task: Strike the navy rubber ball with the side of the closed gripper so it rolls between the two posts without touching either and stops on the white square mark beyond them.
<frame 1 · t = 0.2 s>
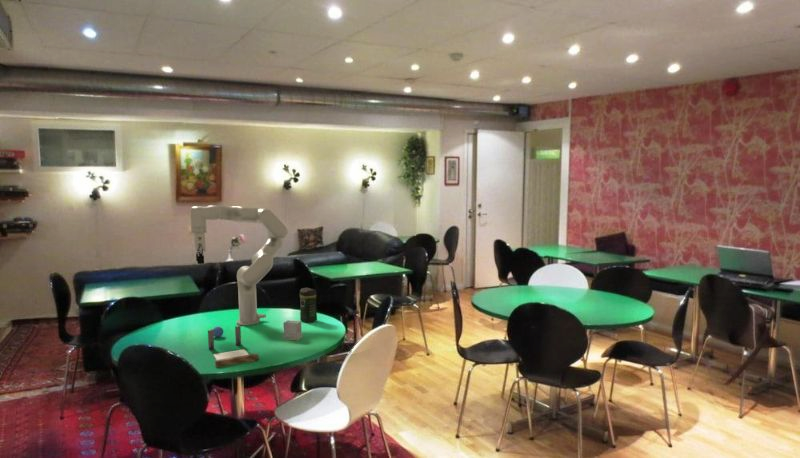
hand: (200, 262, 288), 36 cm above the table, tool pointing down, fingers open, 9 cm apart
stopper wall: (237, 362, 238), on the table
post 1: (211, 349, 257), on the table
coffee jar: (308, 321, 305), on the table
ball: (217, 331, 276), on the table
medicine box: (293, 339, 272), on the table
post 2: (238, 344, 263), on the table
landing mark: (232, 356, 246), on the table
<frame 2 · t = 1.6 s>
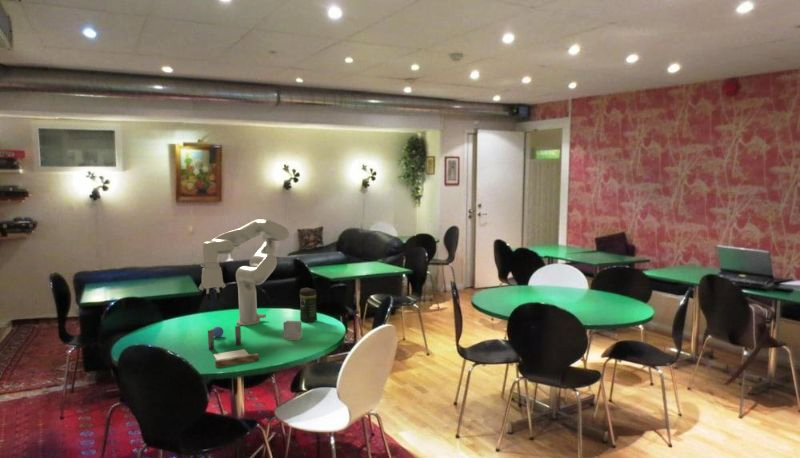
hand: (213, 300, 283), 17 cm above the table, tool pointing down, fingers open, 3 cm apart
nothing on the table moved.
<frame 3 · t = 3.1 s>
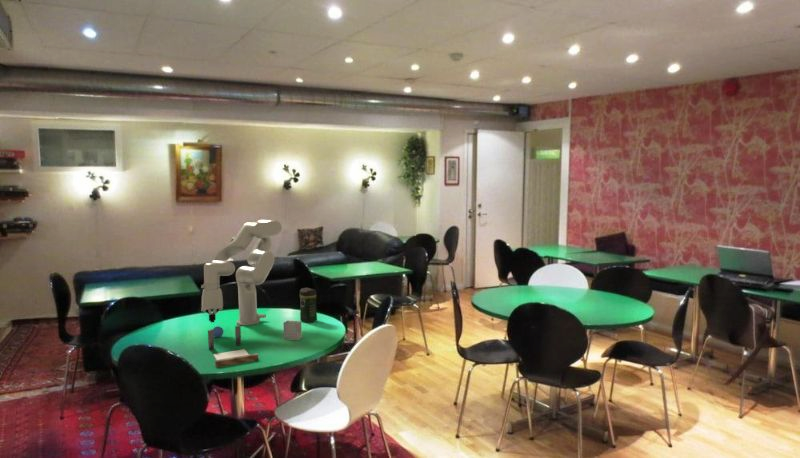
hand: (212, 321, 283), 6 cm above the table, tool pointing down, fingers closed
nothing on the table moved.
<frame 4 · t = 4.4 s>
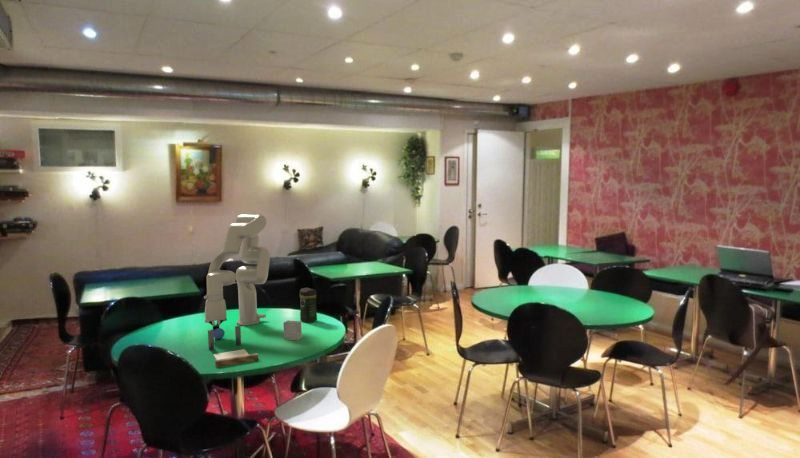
hand: (216, 333, 276), 2 cm above the table, tool pointing down, fingers closed
ball: (218, 333, 273), on the table
everything else where it was.
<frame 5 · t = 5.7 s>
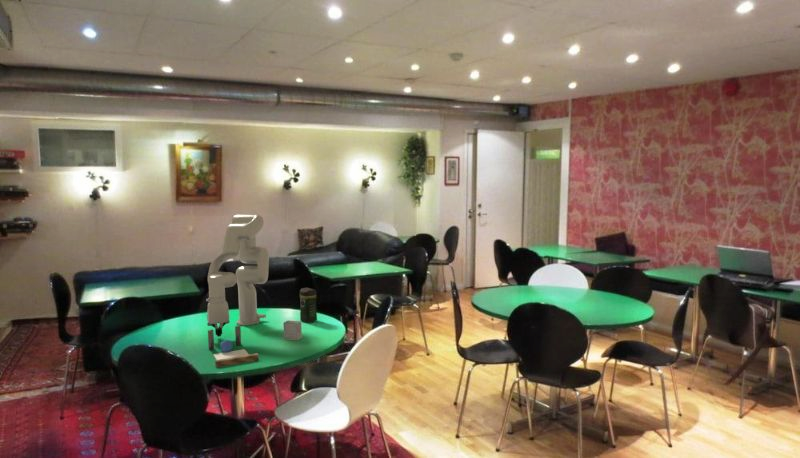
hand: (218, 335, 273), 2 cm above the table, tool pointing down, fingers closed
ball: (226, 346, 253), on the table
everything else where it was.
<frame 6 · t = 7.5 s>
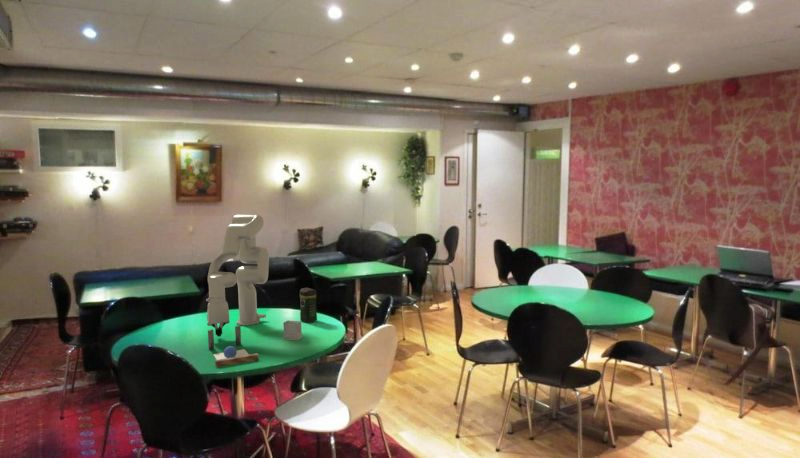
hand: (218, 335, 273), 2 cm above the table, tool pointing down, fingers closed
ball: (230, 352, 244), on the table
everything else where it was.
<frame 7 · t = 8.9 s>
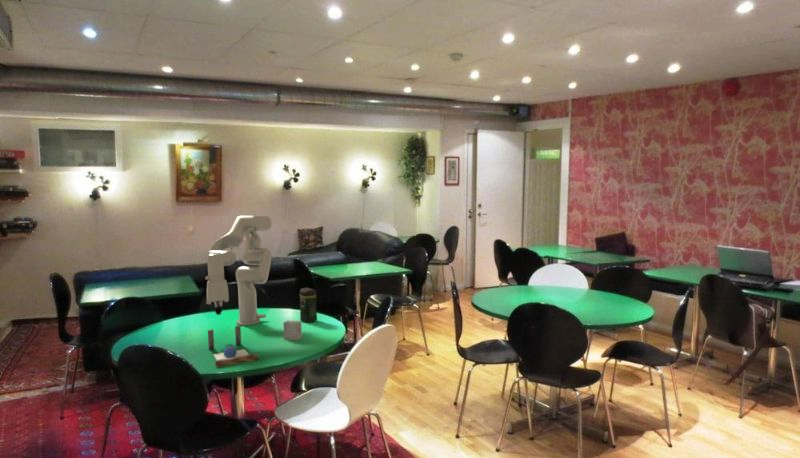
hand: (218, 314, 273), 12 cm above the table, tool pointing down, fingers closed
nothing on the table moved.
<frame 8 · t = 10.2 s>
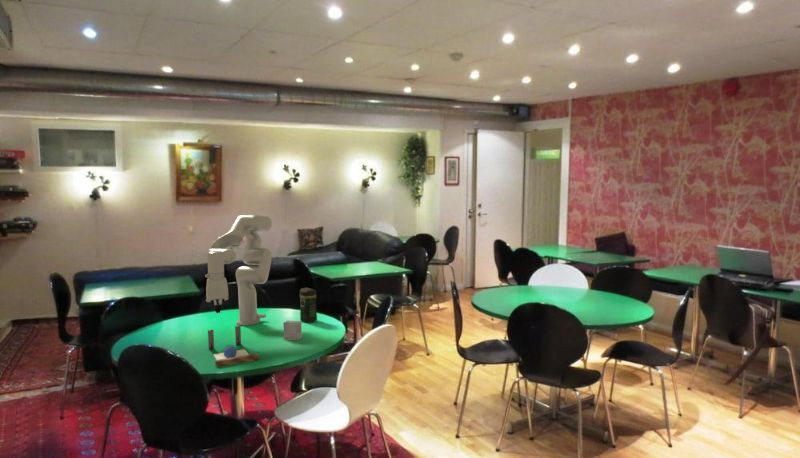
hand: (217, 312, 272), 13 cm above the table, tool pointing down, fingers closed
nothing on the table moved.
at the end: ball 2.5 cm from the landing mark (horizontally); ball never touched post 2; ball never touched post 1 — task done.
